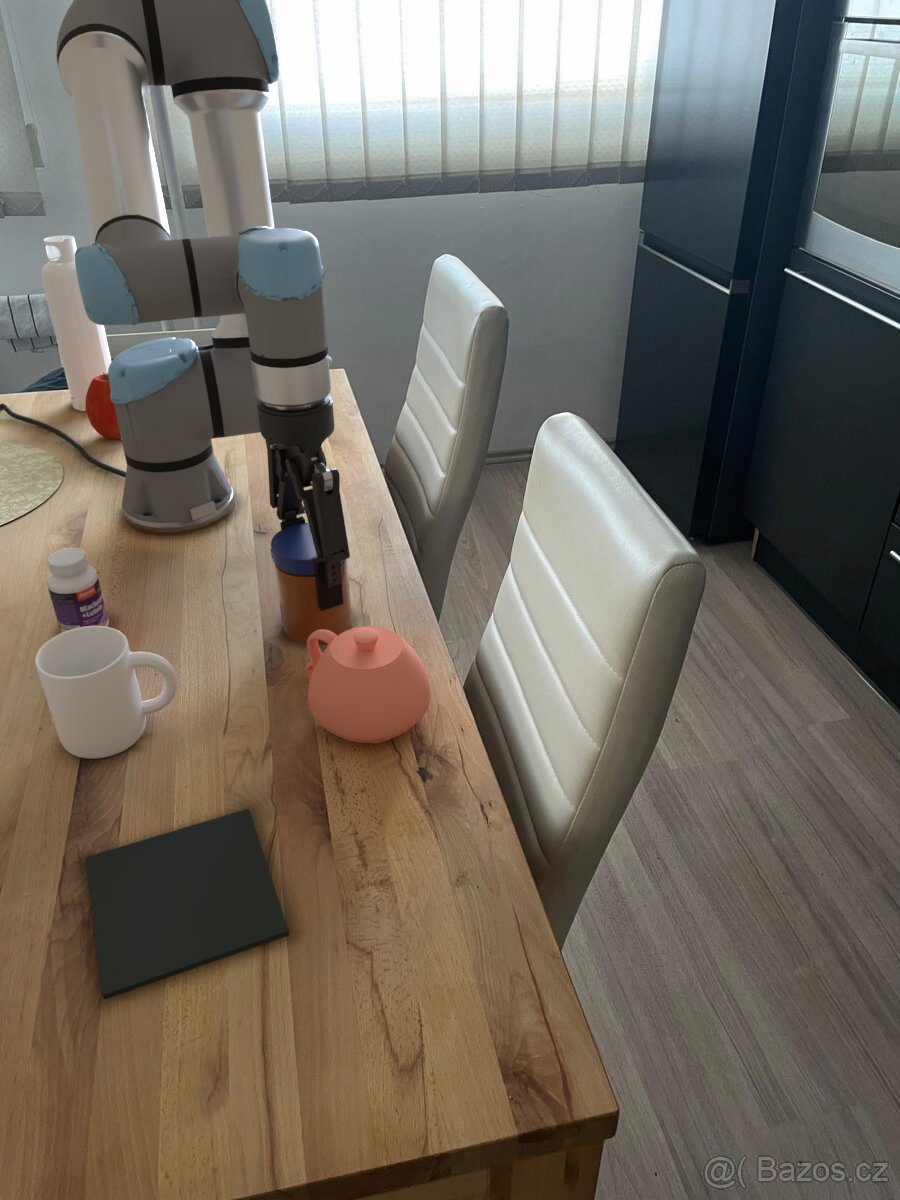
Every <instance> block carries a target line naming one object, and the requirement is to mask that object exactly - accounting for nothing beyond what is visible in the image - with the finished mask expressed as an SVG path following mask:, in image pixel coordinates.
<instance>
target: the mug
mask: <svg viewBox="0 0 900 1200" xmlns="http://www.w3.org/2000/svg"><path fill="white" fill-rule="evenodd" d="M34 664H35V668H36V671H37V674H38V677H39V681H40V684H41V687H42V690H43V693H44V697H45V699H46V702H47V705H48V708H49V711H50V715H51V718H52V721H53V725H54V727H55V730H56V732H57V736H58V739H59V741H60V744H61V745H62V747H63V748H64V749H65V751H66V752H67V753H69V754H71V755H73V756H75V757H78V758H81V759H88V760H97V759H98V760H100V759H105V758H110V757H113V756H116V755H118V754H120V753H123V752H125V751H126V750H128V749H130V748H131V747H132V746H133V745H134V744H135V743H137V741H139V739H140V738H141V737H142V735H143V734H144V732H145V729H146V726H147V717H146V716H147V715H152V714H155V713H157V712H160V711H162V710H163V709H164V708H166V707H167V706H169V705H170V704H171V702H172V701H173V700H174V698H175V696H176V694H177V691H178V684H179V683H178V676H177V673H176V670H175V669H174V667H173V665H172V664H171V663H170V662H169V661H168V660H167V659H166V658H165V657H163V656H161V655H159V654H156V653H153V652H148V651H131V650H130V645H129V642H128V638H127V636H126V635H125V634H124V633H123V632H122V631H120V630H118V629H116V628H114V627H111V626H108V627H106V626H85V627H79V628H75V629H71V630H68V631H65V632H63V633H61V632H60V633H59V634H57V635H54V636H53V637H52V638H50V639H49V640H47V641H46V642H44V643H43V644H42V645H41V646H40V647H39V649H38V650H37V653H36V655H35V658H34ZM137 668H149V669H153V670H155V671H157V672H158V673H159V675H160V676H161V677H162V680H163V688H162V690H161V692H160V694H158V695H157V696H156V697H154V698H150V699H146V700H143V699H142V694H141V689H140V687H139V682H138V678H137V674H136V673H137V672H136V670H135V669H137Z"/></svg>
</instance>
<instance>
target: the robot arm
mask: <svg viewBox="0 0 900 1200" xmlns="http://www.w3.org/2000/svg"><path fill="white" fill-rule="evenodd" d="M273 24H274V23H273V21H272V17H271V13H270V9H269V7H268V3H267V0H73V1H72V2H71V4H70V6H68V9H67V10H66V12H65V14H64V17H63V19H62V21H61V24H60V26H59V30H58V33H57V34H58V35H57V38H56V55H55V56H56V63H57V71H58V75H59V76H58V77H59V79H60V83H61V85H62V86H63V88H64V90H65V91H66V93H67V94H68V95H69V97H71V98H72V103H73V109H74V110H73V111H74V116H75V122H76V123H75V124H76V129H77V137H78V143H79V147H80V155H81V163H82V169H83V175H84V182H85V183H84V184H85V189H86V194H87V195H86V196H87V201H88V209H89V215H90V221H91V227H92V228H91V229H92V234H93V241H94V243H91V244H90V245H85V246H80V247H78V248H77V250H76V252H75V266H76V273H77V278H78V283H79V288H80V292H81V297H82V301H83V305H84V308H85V311H86V314H87V316H88V318H89V319H90V320H91V321H92V322H93V323H95V324H98V325H104V326H126V325H131V326H137V325H139V324H147V323H155V322H164V321H174V320H175V321H176V320H182V319H183V320H184V319H192V318H209V317H210V318H211V317H220V319H219V323H218V324H217V326H216V327H215V328H214V330H213V331H212V333H211V341H212V348H210V349H201V350H199V347H198V345H197V344H196V343H195V342H194V341H193V340H192V339H190V338H186V337H178V338H177V337H176V336H175V337H174V336H172V337H171V336H170V337H161V338H157V339H152V340H148V341H143V342H141V343H138V344H135V345H133V346H131V347H129V348H126V349H125V350H123V351H122V352H121V351H120V353H119V354H117V355H116V356H115V357H114V358H113V359H111V361H112V362H111V364H110V366H109V369H108V376H109V383H110V389H111V394H110V398H111V401H112V402H113V403H114V406H115V411H116V416H117V420H118V425H119V430H120V435H121V439H120V440H121V444H122V449H123V453H124V458H125V462H126V471H124V470H122V469H119V468H117V467H114V466H111V465H108V464H106V463H104V462H102V461H100V460H98V459H95V458H94V457H93V456H92V455H90V454H89V452H87V451H86V449H85V448H84V447H82V445H80V443H78V442H77V441H75V440H74V439H73V438H72V437H71V436H69V435H68V434H67V433H65V432H63V431H62V430H60V429H58V428H56V427H53V426H52V425H49V424H47V423H45V422H42V421H40V420H38V419H34V418H31V417H29V416H28V417H27V416H24V415H21V414H19V413H16V412H14V411H13V410H11V409H10V407H9V406H8V405H7V404H5V403H4V402H3V403H0V411H4V412H5V413H6V414H7V415H8V416H10V417H11V418H13V419H16V420H18V421H21V422H24V423H28V424H31V425H34V426H36V427H39V428H41V429H44V430H46V431H48V432H51V433H53V434H54V435H56V436H58V437H60V438H61V439H63V440H65V441H66V442H67V443H69V444H70V445H71V446H73V448H74V449H76V450H77V451H78V452H79V453H80V454H81V456H82V457H83V458H85V459H86V460H87V461H88V462H89V463H91V464H92V465H94V466H96V467H97V468H100V469H102V470H105V471H107V472H110V473H112V474H114V475H118V476H119V477H122V478H124V485H123V486H124V487H123V493H122V500H121V509H122V513H123V517H124V520H125V522H126V524H127V525H128V526H129V527H131V528H133V529H134V530H135V531H139V532H142V533H146V534H150V535H156V536H157V535H158V536H175V535H183V534H189V533H194V532H198V531H201V530H202V531H203V530H204V529H205V530H206V529H208V528H211V527H212V526H215V525H217V524H218V523H221V522H222V521H223V520H225V519H226V518H227V517H228V516H229V515H230V514H231V513H232V511H233V510H234V509H235V497H234V491H233V487H232V486H231V485H232V484H230V481H229V480H228V478H227V476H226V474H225V473H224V471H223V468H222V467H221V465H220V463H219V461H218V459H217V457H216V455H215V453H214V449H213V448H214V447H213V443H212V439H220V438H229V437H236V436H243V435H251V434H258V433H259V434H261V436H262V438H263V439H264V440H265V445H266V451H267V452H266V453H267V454H266V455H267V470H268V471H267V472H268V473H267V474H268V490H269V491H268V493H269V505H270V507H271V509H276V517H277V518H278V520H280V521H281V522H280V523H279V524H280V531H281V530H283V529H284V528H287V527H289V526H292V525H296V524H300V523H306V519H307V523H309V527H310V531H311V535H312V538H313V542H314V546H315V550H316V554H317V556H316V557H313V558H311V561H312V563H313V564H314V570H315V579H316V589H317V599H318V608H319V609H320V610H321V611H323V610H326V609H329V608H333V607H336V606H339V605H342V604H344V603H343V591H342V579H341V567H340V561H341V560H345V559H347V560H348V559H350V558H351V557H350V556H351V554H350V548H349V541H348V534H347V531H346V530H347V529H346V523H345V522H346V521H345V517H344V510H343V504H342V498H341V491H340V487H341V486H340V485H341V484H340V482H341V481H340V478H341V477H340V472H339V470H338V469H337V468H336V467H335V468H331V469H328V468H327V463H328V462H327V459H326V455H325V452H324V451H323V447H322V445H323V443H324V442H325V440H327V439H328V438H329V437H330V436H332V434H333V432H334V430H335V416H334V415H335V414H334V404H333V403H334V402H333V398H332V397H331V395H330V393H331V391H332V385H331V384H332V383H331V372H330V371H331V370H330V367H331V366H332V365H333V359H332V357H330V356H329V348H328V346H329V345H328V334H327V322H326V309H325V308H326V306H325V292H324V279H325V270H324V266H323V264H322V261H321V260H322V259H321V251H320V245H319V241H318V239H317V238H316V236H315V235H313V234H312V233H311V232H309V231H306V230H302V229H298V228H290V227H275V221H274V214H273V213H274V212H273V206H272V197H271V189H270V182H269V176H268V175H269V173H268V167H267V160H266V159H267V158H266V152H265V146H264V145H265V144H264V136H263V130H262V124H261V123H262V121H261V113H262V111H263V109H264V108H265V106H266V105H267V103H268V102H269V100H270V99H271V97H270V95H271V94H270V88H269V87H270V86H269V85H272V84H273V83H276V82H277V81H278V80H279V78H280V60H279V56H278V44H277V39H276V34H275V28H274V25H273ZM149 86H153V87H159V86H164V87H165V86H167V87H168V86H170V88H171V94H172V100H173V104H174V105H175V106H176V107H178V108H179V110H181V112H183V113H184V114H185V115H186V116H187V118H188V120H189V125H190V132H191V133H190V134H191V138H192V145H193V150H194V158H195V163H196V168H197V169H196V170H197V177H198V182H199V189H200V195H201V196H200V197H201V202H202V208H203V215H204V220H205V221H204V222H205V227H206V233H207V234H206V235H207V237H199V238H198V237H197V238H181V239H180V238H179V239H178V238H177V239H172V236H171V235H172V234H171V231H170V230H171V229H170V226H169V220H168V215H167V210H166V209H167V208H166V204H165V200H164V199H165V198H164V195H163V190H162V184H161V179H160V174H159V169H158V164H157V159H156V153H155V148H154V144H153V138H152V132H151V128H150V122H149V117H148V112H147V107H146V103H145V101H146V100H145V96H146V93H147V91H148V87H149ZM310 487H312V488H310ZM305 488H309V489H305ZM303 514H305V515H306V518H304V517H303V516H300V515H303ZM298 516H299V517H298Z"/></svg>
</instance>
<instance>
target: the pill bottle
mask: <svg viewBox="0 0 900 1200" xmlns="http://www.w3.org/2000/svg"><path fill="white" fill-rule="evenodd" d="M46 561H47V566H48V570H49V572H50V573H49V575H48V576H47V578H46V585H47V590H48V593H49V598H50V600H51V604H52V607H53V610H54V614H55V617H56V621H57V624H58V625H57V626H58V628H59V631H60V634H61V633H63V632H65V631H68V630H71V629H75V628H79V627H85V626H106V627H109V623H110V621H109V620H110V619H109V616H108V612H107V611H108V610H107V608H106V604H105V599H104V597H103V592H102V588H101V584H100V579H99V576H98V572H97V570H96V569H95V568H94V566H92V565H90V564H88V559H87V555H86V552H85V551H84V550H83V549H82V548H78V547H66V548H65V547H64V548H61V549H58V550H56V551H54V552H52V553H51V554H49V556H48V557H47V560H46Z"/></svg>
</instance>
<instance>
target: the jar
mask: <svg viewBox="0 0 900 1200" xmlns="http://www.w3.org/2000/svg"><path fill="white" fill-rule="evenodd" d="M348 566H349V565H348V559H346V560H345V561H344V562H343V563H342V564H341V565H340V567H341V579H342V591H343V603H344V604H342V605H339V606H336V607H333V608H329V609H326V610H323V611H321V610H320V609H319V608H318V599H317V589H316V579H315V574H313V575H298V574H292V573H288V572H285V571H283V570H281V569H279V568H278V567H277V566H276V565H275V564H274V569H275V576H276V577H275V578H276V585H277V593H278V601H279V607H280V615H281V623H282V624H281V625H282V629H283V630H282V631H283V632H284V635H285V636H287V637H288V639H290V640H291V641H294V642H297V643H300V644H305V645H307V640H308V638H309V636H310V635H311V634H312V633H313V632H315V631H317V630H321V629H324V630H329V631H331V632H333V633H335V634H336V635H337V636H338V635H339V634H341V633H343V632H345V631H347V630H349V629H351V626H352V625H353V619H352V618H353V617H352V605H351V592H350V580H349V567H348ZM318 644H319V645H322V644H327V643H326V642H324V641H322V640H319V639H318Z"/></svg>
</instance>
